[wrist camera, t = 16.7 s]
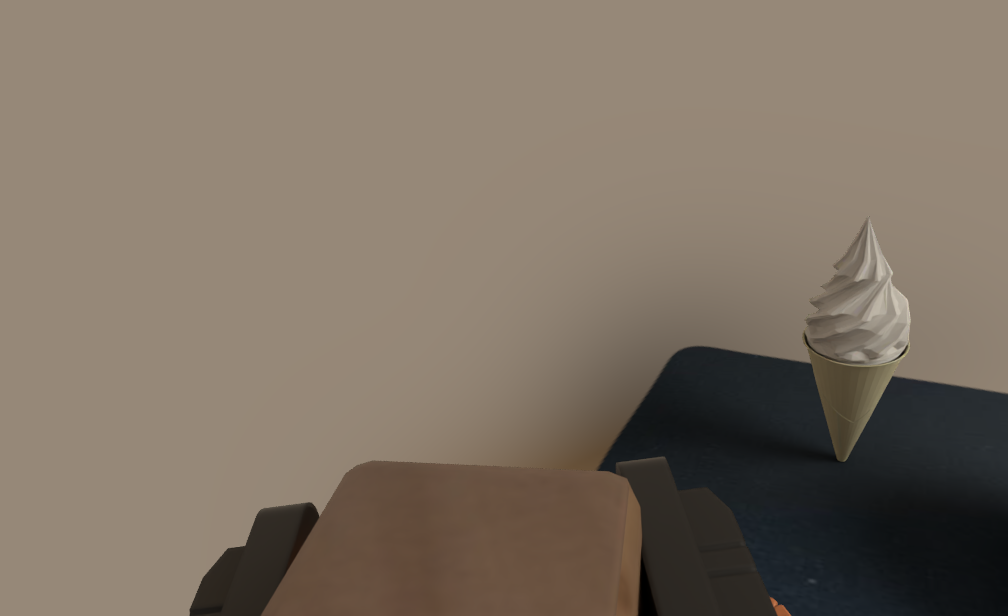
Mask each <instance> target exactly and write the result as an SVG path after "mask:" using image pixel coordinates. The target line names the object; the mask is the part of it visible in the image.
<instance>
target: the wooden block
mask: <svg viewBox="0 0 1008 616" xmlns="http://www.w3.org/2000/svg"><path fill="white" fill-rule="evenodd" d="M641 545H642V525H641V509H640V505H639V503H638V501H637V499H636V497H635V495H634V492H633V490H632V488H631V486H630V484H629V482H628V480H627V478H624V477H621V476H619V475H616V474H613V473H611V472H608V471H586V470H563V469H562V470H561V469H543V468H521V467H499V466H477V465H456V464H455V465H454V464H435V463H413V462H392V461H391V462H390V461H370V462H366V463H363V464H360V465H357V466H355V467H354V468H353V469H351V470H350V471H349V472H347V473H346V474H345V475H344V477H343V479H342V481H341V482H340V484H339V485H338V487H337V489H336V491H335V492H334V494H333V496H332V497H331V499H330V501H329V502H328V504H327V506H326V507H325V509H324V511H323V512H322V514H321V516H320V517H319V519H318V521H317V522H316V524H315V526H314V527H313V529H312V531H311V532H310V534H309V536H308V537H307V539H306V541H305V542H304V544H303V546H302V547H301V549H300V551H299V552H298V554H297V556H296V557H295V559H294V561H293V562H292V564H291V566H290V567H289V569H288V571H287V573H286V574H285V576H284V578H283V579H282V581H281V583H280V584H279V586H278V588H277V589H276V591H275V593H274V594H273V596H272V598H271V599H270V601H269V603H268V604H267V606H266V608H265V609H264V611H263V613H262V614H261V616H645V602H644V587H643V572H642V557H641Z"/></svg>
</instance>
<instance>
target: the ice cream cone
mask: <svg viewBox="0 0 1008 616" xmlns="http://www.w3.org/2000/svg"><path fill="white" fill-rule="evenodd" d="M833 267H834V268H836V269H837V270H838V271H837V272H836V274H835V275H834V277H833V278H832V279H831V280H830V281H829V282H827V283H826V284H824V285H822V286H821V287H823V288H824V289H825V290H826V292H825V293H823V294H821V295H819V296H816V297H814V298H811V299H809V302H810V303H811V304H813V305H814V306H815V307H817V308H818V309H819V310H818V311H817V312H816V313H813V314H809V315H808V316H807V317H806V319H805V321H806V323H807V325H808V326H807V327H806V328H805V330H804V332H803V336H802V338H803V342H804V344H805V346H806V347H807V348H808V352H809V356H810V359H811V363H812V367H813V371H814V375H815V379H816V383H817V386H818V390H819V394H820V398H821V401H822V405H823V409H824V412H825V416H826V420H827V424H828V427H829V431H830V435H831V438H832V442H833V446H834V450H835V453H836V457H837V460H839V461H841V462H844V461H846V460H847V458H848V456H849V454H850V452H851V451H852V449H853V447H854V445H855V443H856V441H857V440H858V438H859V436H860V434H861V432H862V431H863V429H864V427H865V425H866V423H867V421H868V420H869V418H870V416H871V414H872V412H873V410H874V409H875V407H876V405H877V403H878V401H879V400H880V398H881V396H882V393H883V392H884V390H885V388H886V386H887V384H888V383H889V381H890V379H891V377H892V375H893V373H894V372H895V370H896V368H897V366H898V364H899V362H900V361H901V359H902V358H903V357H904V356H906V354H907V353H908V351H909V348H910V342H909V340H908V339H909V326H910V323H911V320H910V313H909V304H908V300H907V299H906V298H905V297H904V296H903V295H902V294H901V293H900V292H899V291H898V290H897V289H896V288H895V287H894V286H893V285H892V283H891V276H892V275H893V272H892V270H891V269H890V267H889V265H888V263H887V261H886V260H885V258H884V256H883V254H882V252H881V249H880V247H879V244H878V242H877V239H876V236H875V233H874V231H873V228H872V226H871V222H870V218H869V217H867V218H866V220H865V222H864V224H863V225H862V227H861V229H860V231H859V233H858V234H857V236H856V237H855V239H854V241H853V242H852V244H851V245H850V247H849V249H848V250H847V252H846V253H845V254H844V255H843V256H842V257H841V258H840V259H839V260H838V261H837V262H836V263H834V264H833Z"/></svg>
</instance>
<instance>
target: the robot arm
mask: <svg viewBox="0 0 1008 616" xmlns="http://www.w3.org/2000/svg"><path fill="white" fill-rule="evenodd" d="M616 475H619V476H621V477H624V478H627V480H628V482H629V484H630V486H631V488H632V490H633V492H634V495H635V497H636V499H637V501H638V503H639V505H640V509H641V525H642V545H641V557H642V572H643V587H644V602H645V616H778V615H777V613H776V611H775V608H774V606H773V604H772V601H771V599H770V597H769V595H768V592H767V590H766V588H765V585H764V583H763V581H762V578H761V576H760V574H759V572H757V570H756V565H755V562H754V560H753V558H752V556H751V553H750V551H749V549H748V547H746V544H745V540H744V537H743V535H742V533H741V530H740V528H739V526H738V523H737V521H736V519H735V517H734V514H733V512H732V510H731V509H729V508H728V507H727V506H726V505H725V504H724V503H723V502H722V501H721V500H720V499H719V498H718V497H717V496H716V495H714V494H713V493H712V492H711V491H710V490H709V489H708V488H707V487H704V488H696V489H688V490H681V491H678V490H677V487H676V484H675V482H674V479H673V476H672V473H671V470H670V468H669V465H668V462H667V460H666V458H665V457H657V458H650V459H642V460H634V461H627V462H619V463H616ZM318 519H319V514H318V512H317V509H316V507H315V506H314V505H313V504H312V503H301V504H294V505H286V506H278V507H271V508H264V509H261V510H260V511H259V513H258V514H257V516H256V518H255V521H254V524H253V526H252V529H251V532H250V535H249V537H248V540H247V543H246V546H243V547H235V548H228V549H227V550H226V551H225V552H224V554H223V555H222V556H221V557H220V558H219V560H218V561H217V562H216V563H215V564H214V565H213V567H212V568H211V569H210V570H209V572H208V573H207V574H206V575H205V576H204V577H203V579H202V581H201V584H200V586H199V589H198V591H197V593H196V596H195V598H194V601H193V603H192V606H191V608H190V616H261V614H262V613H263V611H264V609H265V608H266V606H267V604H268V603H269V601H270V599H271V598H272V596H273V594H274V593H275V591H276V589H277V588H278V586H279V584H280V583H281V581H282V579H283V578H284V576H285V574H286V573H287V571H288V569H289V567H290V566H291V564H292V562H293V561H294V559H295V557H296V556H297V554H298V552H299V551H300V549H301V547H302V546H303V544H304V542H305V541H306V539H307V537H308V536H309V534H310V532H311V531H312V529H313V527H314V526H315V524H316V522H317V521H318Z"/></svg>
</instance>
